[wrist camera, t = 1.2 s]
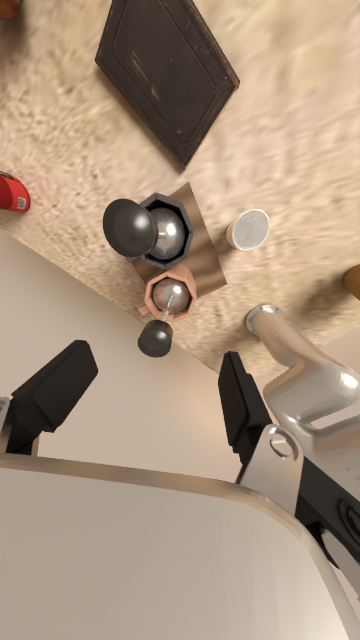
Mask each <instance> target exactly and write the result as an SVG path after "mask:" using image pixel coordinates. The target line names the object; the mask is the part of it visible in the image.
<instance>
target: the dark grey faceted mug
mask: <svg viewBox="0 0 360 640" xmlns="http://www.w3.org/2000/svg"><path fill="white" fill-rule="evenodd" d="M139 205H140V206H142V207H143V208H145V209H146V210H147V211H149V212H150V211H152V210H154V209H157V208H167V209H169V210H171V211H173V212H174V213H176V214H177V215H178V217H179V218H180V219H181V221H182V223H183V226H184V230H185V240H184V244H183V247H182V249H181V250H180V252H179V253H178V254H177V255H175V256H174V257H172V258H170V259H158V258H156V257H154V256H152V255H151V254H150V253H147V254H144V255H141V256H138V257H126V256H125V257H126V259H127V260H128V262H129V263H131V262H134V261H136V260H139V259H142V260H143V262H144V263H147V264H150V265H153V266H156V267H159V268H162V269H165V270H167V269H168V268H170V267H172V266H174V265H175V264H177V263H179V262H181V261H183V260H184V259H186V258H187V255H188V251H189V248H190V245H191V241H192V238H193V235H194V229H193V227H192V224H191V222H190V219H189V217H188V214H187V212H186V210H185V207H184V205H183V203H182V202H180V201H178V200H175V199H172V198H170V197H167V196H164V195H162V194H159V193H154V194H152V195H151V196H150V197H148V198H147V199H146V200H144V201H143V202H142V203H140V204H139Z"/></svg>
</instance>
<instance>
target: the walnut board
mask: <svg viewBox="0 0 360 640" xmlns="http://www.w3.org/2000/svg"><path fill="white" fill-rule="evenodd" d="M168 197H170V198H172V199H175V200H178V201H180V202H182V203H183V205H184V207H185V210H186V212H187V214H188V217H189V219H190V222H191V224H192V227H193V229H194V235H193V238H192V241H191V245H190V248H189V251H188V255H187V258H186V259H184V260H183V261H181V262H179V263H177V264H181V265H184V266H185V267H188V268H189V270H190V271H191V273H192V275H193V278H194V280H195V284H196V294H197V298H198V297H200V296H202V295H205V294H207V293H209V292H211V291H213V290H215V289H218V288H220V287H222V286H224V285H226V284H227V282H226V280H225V277H224V274H223V272H222V269H221V266H220V264H219V261H218V258H217V256H216V253H215V250H214V248H213V245H212V242H211V240H210V237H209V234H208V232H207V229H206V226H205V224H204V221H203V218H202V216H201V213H200V210H199V208H198V205H197V202H196V200H195V197H194V194H193V192H192V189H191V186H190V184H189V182H188V183H186V184H185V185H183V186H182V187H181V188H179V189H178V190H177V191H175V192H174V193H173V194H171V195H170V196H168ZM132 264H133V266H134V267H135V269H136V270H137V272H138V273H139V275H140V276H141V278H142V280H143V281H144V283H145V284H146V286H147V284H148V282H149V281H150V280H151V279H152V278H153V277H154V276H155V275H156V274H157V273H158V272H159V271H160V270H161V269H162V268H159V267H156V266H153V265H150V264H147V263H144V262H143V260H142V259H139V260H136V261H134V262H132Z"/></svg>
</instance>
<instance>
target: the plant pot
mask: <svg viewBox="0 0 360 640" xmlns="http://www.w3.org/2000/svg"><path fill="white" fill-rule="evenodd" d="M343 284H344V286H345V287H346V288H347V289H348V290H349V291H350V292H351V293H352V294H353V295H354V296H355V297H356V298H357V299H358V300H360V265H357V266H355V267H353V268H352V269H351V270H349V271H348V272H347V274H346V275H345V277H344V279H343Z"/></svg>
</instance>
